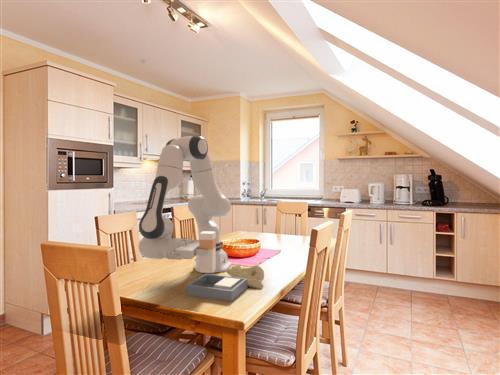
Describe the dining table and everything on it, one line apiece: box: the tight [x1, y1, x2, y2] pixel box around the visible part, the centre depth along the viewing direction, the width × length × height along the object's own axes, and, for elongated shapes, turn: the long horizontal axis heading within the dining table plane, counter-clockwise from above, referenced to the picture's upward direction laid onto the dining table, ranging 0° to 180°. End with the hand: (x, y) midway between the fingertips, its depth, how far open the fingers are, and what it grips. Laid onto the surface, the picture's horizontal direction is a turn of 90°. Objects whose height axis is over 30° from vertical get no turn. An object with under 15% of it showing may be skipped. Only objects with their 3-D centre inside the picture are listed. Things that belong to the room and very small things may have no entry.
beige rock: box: [225, 264, 265, 290], centre depth 139 cm, size 15×7×15 cm
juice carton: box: [198, 231, 216, 274], centre depth 131 cm, size 6×6×16 cm
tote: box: [185, 273, 249, 303], centre depth 130 cm, size 16×20×5 cm
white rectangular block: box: [214, 277, 240, 290], centre depth 128 cm, size 10×7×4 cm
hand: (209, 249), depth 131 cm, fingers closed on juice carton, 6 cm apart
